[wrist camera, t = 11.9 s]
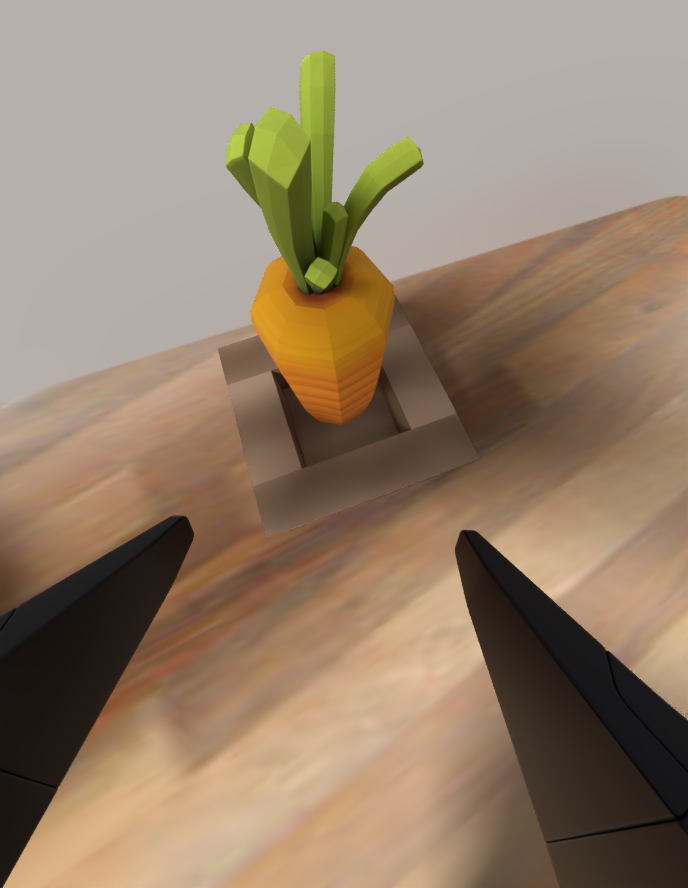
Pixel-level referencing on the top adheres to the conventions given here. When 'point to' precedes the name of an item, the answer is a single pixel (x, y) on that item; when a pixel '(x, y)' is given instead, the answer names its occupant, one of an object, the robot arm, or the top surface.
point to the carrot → (318, 250)
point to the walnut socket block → (342, 433)
